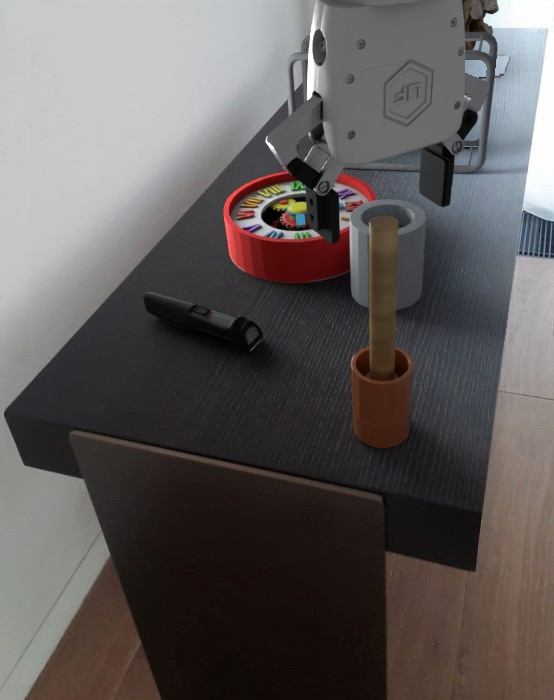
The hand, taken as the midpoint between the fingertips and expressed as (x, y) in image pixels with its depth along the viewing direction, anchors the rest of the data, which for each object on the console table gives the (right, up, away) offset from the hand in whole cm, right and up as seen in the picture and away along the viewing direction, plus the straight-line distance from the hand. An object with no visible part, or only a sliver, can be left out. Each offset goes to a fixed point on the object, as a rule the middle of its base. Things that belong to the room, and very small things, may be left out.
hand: (381, 217), depth 53 cm
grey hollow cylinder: (+5, -3, +31) cm, 32 cm away
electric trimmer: (-17, -8, +29) cm, 34 cm away
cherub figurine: (+31, +48, +92) cm, 108 cm away
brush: (+2, -15, +12) cm, 19 cm away
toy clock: (-4, +4, +42) cm, 43 cm away
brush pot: (+2, -17, +14) cm, 22 cm away
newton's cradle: (+10, +21, +61) cm, 65 cm away
